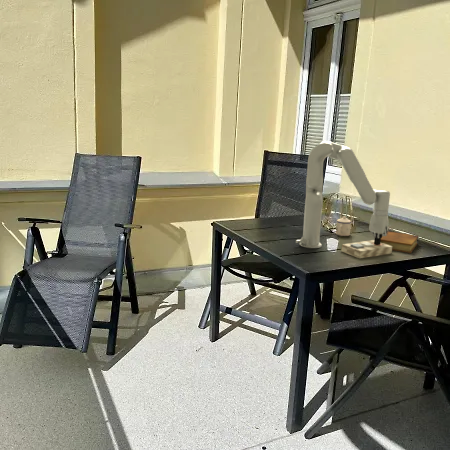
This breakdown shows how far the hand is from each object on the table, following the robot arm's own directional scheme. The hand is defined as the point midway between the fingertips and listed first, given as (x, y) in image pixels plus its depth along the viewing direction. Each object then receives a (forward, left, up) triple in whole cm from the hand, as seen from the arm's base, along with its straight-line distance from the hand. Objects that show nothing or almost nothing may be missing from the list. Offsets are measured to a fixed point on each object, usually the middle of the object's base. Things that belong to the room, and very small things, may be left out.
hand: (377, 244), depth 249 cm
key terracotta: (0, 0, -3) cm, 3 cm away
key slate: (-15, 0, -1) cm, 15 cm away
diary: (+20, +3, -5) cm, 21 cm away
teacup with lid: (+6, +35, -4) cm, 36 cm away
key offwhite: (-8, 0, -1) cm, 8 cm away
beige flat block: (-8, 0, -4) cm, 8 cm away
